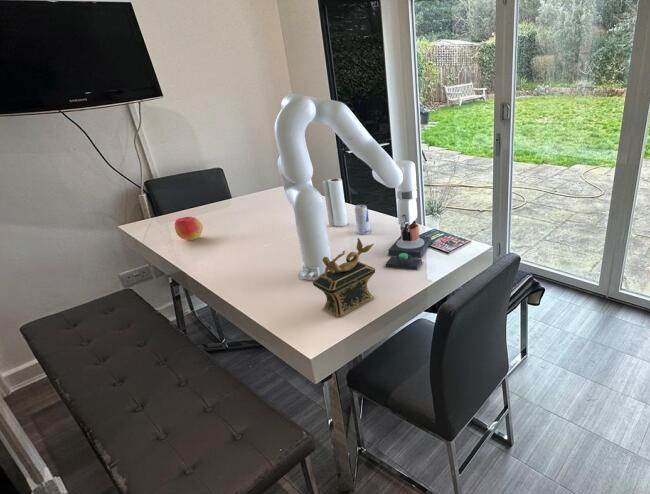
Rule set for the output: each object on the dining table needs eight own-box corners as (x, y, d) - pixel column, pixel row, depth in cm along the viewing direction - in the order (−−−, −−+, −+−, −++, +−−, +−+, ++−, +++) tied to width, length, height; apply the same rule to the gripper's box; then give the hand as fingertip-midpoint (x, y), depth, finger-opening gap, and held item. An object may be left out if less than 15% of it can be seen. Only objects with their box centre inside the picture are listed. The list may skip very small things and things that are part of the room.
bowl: (416, 242, 158) (415, 230, 156) (398, 241, 159) (397, 229, 157) (421, 235, 164) (420, 223, 162) (404, 234, 165) (403, 222, 163)
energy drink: (371, 230, 182) (368, 204, 177) (367, 234, 177) (364, 208, 172) (359, 229, 182) (356, 204, 178) (355, 234, 178) (352, 208, 173)
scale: (420, 258, 155) (420, 251, 154) (388, 255, 158) (388, 249, 157) (431, 242, 169) (431, 236, 168) (401, 240, 171) (401, 234, 170)
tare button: (406, 260, 148) (405, 256, 147) (397, 260, 148) (397, 256, 147) (409, 256, 150) (408, 253, 150) (400, 256, 151) (400, 252, 150)
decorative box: (336, 321, 118) (326, 260, 110) (316, 310, 123) (305, 251, 115) (387, 292, 132) (382, 237, 124) (368, 284, 138) (361, 230, 130)
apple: (190, 244, 169) (183, 222, 165) (173, 242, 172) (166, 220, 168) (210, 236, 177) (204, 214, 173) (194, 233, 180) (187, 212, 176)
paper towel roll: (350, 222, 191) (344, 178, 182) (343, 227, 185) (337, 181, 177) (336, 221, 192) (330, 177, 184) (329, 226, 187) (322, 180, 178)
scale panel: (417, 270, 146) (416, 262, 145) (385, 267, 149) (384, 259, 147) (422, 262, 152) (421, 255, 151) (391, 259, 154) (390, 252, 153)
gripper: (405, 187, 163) (408, 228, 170) (389, 200, 147) (393, 245, 154) (423, 187, 161) (425, 229, 168) (409, 201, 146) (412, 246, 153)
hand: (410, 236), depth 161 cm, fingers closed on bowl, 7 cm apart
